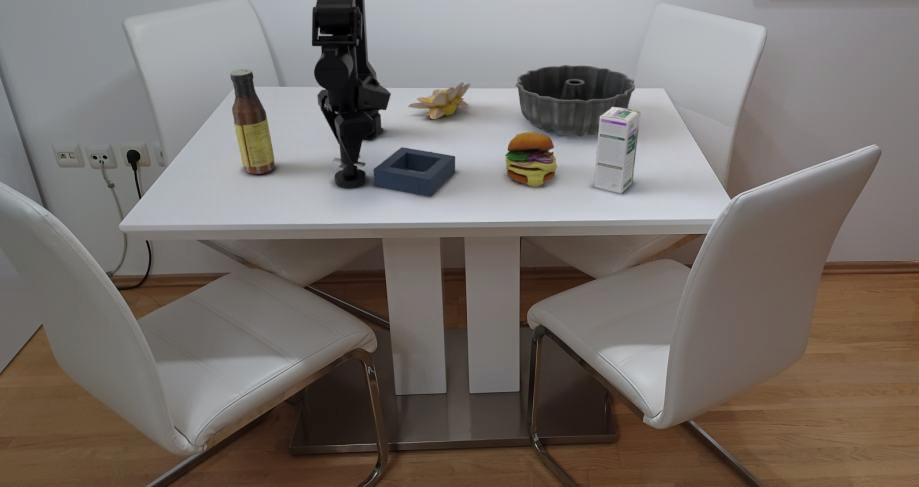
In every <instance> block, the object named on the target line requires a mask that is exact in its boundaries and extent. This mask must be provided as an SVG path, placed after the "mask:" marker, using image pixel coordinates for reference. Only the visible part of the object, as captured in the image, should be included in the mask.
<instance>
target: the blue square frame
mask: <svg viewBox="0 0 919 487" xmlns="http://www.w3.org/2000/svg"><path fill="white" fill-rule="evenodd" d="M372 170H373V184H374V187H377V188H383V189H388V190H393V191H399V192H404V193H410V194H415V195H420V196H426V197H432V195H434V194H435V193H436V192H437V191H438V189H440V188H441V187H442V186H443V185H444V184H445V183H446V182H447V181H448V180H449V179H450V178H451V177H452V176H453V175H454V174H455V173H456V156H455V155H451V154H444V153H439V152H433V151H428V150H421V149H416V148H410V147H403V146H400V148H398V149H397V150H396V151H394V153H392V154H391V155H390V156H388V157H387V158H386V159H384V160H383V161H381V163H380V164H378V165H377V166H376V167H374V168H373V169H372Z"/></svg>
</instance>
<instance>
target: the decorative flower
mask: <svg viewBox="0 0 919 487" xmlns="http://www.w3.org/2000/svg"><path fill="white" fill-rule="evenodd" d="M470 86H471V83H470V82H469V83H466V84H465V83H464V82H460V83H459V84H458V85H457V86H456V87H453V86H452V87H448V88H446V89H440V88H439V89H434V90H432V94H431V95H428V96H427V97H424V96H423V97H422V96H419V97H417V98H416V100H417V101H418V102H413V103H410V104H409V105H408V106H407V107H408V108H412V109H419V110H420V109H421V110H423V109H425V110H426V109H429V111H428V113H427V115H426V116H425V119H432V120H437V119H439V118H441V117H443V116H448V117H449V116H451V115H453V114H454V113H455V112H456V110H457V109H458V108H459V107H461V108H463V109H468V108H469V104H468V103H467V102H466V101H464V100H465V98H463V97H464V95H465V94H466V93H467V92H468V90H469V88H470Z"/></svg>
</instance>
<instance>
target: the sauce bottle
mask: <svg viewBox="0 0 919 487" xmlns="http://www.w3.org/2000/svg"><path fill="white" fill-rule="evenodd" d="M229 74H230V80H231V82H232V85H233V90H234V103H233V105H232V107H231V112H232V116H233V121H234V122H233V124H234V129H235V133H236V134H235V135H236V138H237V143H238V148H239V154H240V158H241V162H242V165H243V169H244V172H245V173H248V174H251V175H262V174H267V173H269V172H271V171H272V170H274V169H275V155H274V148H273V144H272V137H271V133H270V127H269V122H268V117H267V112H266V110H265V108H264V105H263V104H262V102H261V100H260V98H259V96H258V94H257V91H256V89H255V83H254V73H253V71H252V70H251V69H247V68H244V69H243V68H240V69H236V70H233V71H231V72H230V73H229Z"/></svg>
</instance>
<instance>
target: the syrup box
mask: <svg viewBox="0 0 919 487" xmlns="http://www.w3.org/2000/svg"><path fill="white" fill-rule="evenodd" d="M640 117H641V112H640V111H639V110H635V109H631V108H619V107H611V109H610V110H608V111H606V112H605V113H604V114H602V115H601V116H600V121H599V132H598V133H597V134H598V135H597V145H596V157H595V170H594V181H593V186H594V187H595V188H597V189H601V190H604V191H608V192H611V193H616V194H623V192H624V191H625V190H626V189H628V188H629V187H630V186H631V185H632V183H633V182H634V173H635V164H636V155H637V145H638V137H639V128H640V119H641V118H640Z"/></svg>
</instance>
